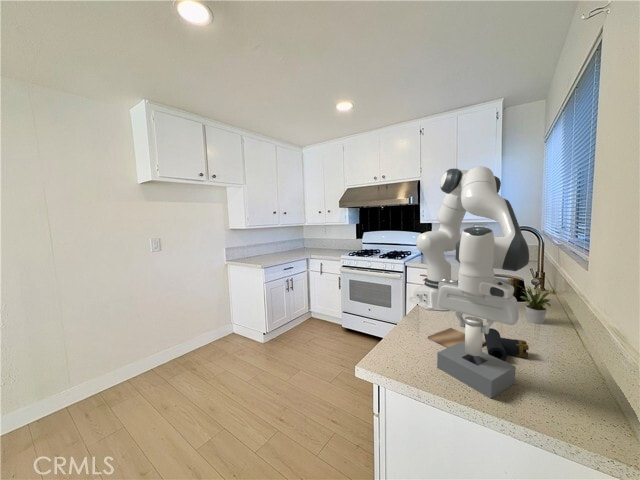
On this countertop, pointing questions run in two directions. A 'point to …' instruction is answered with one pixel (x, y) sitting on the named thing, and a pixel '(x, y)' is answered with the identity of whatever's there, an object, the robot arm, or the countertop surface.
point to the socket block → (477, 370)
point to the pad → (449, 337)
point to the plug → (473, 336)
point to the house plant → (536, 306)
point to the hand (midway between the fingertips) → (473, 329)
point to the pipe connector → (504, 346)
